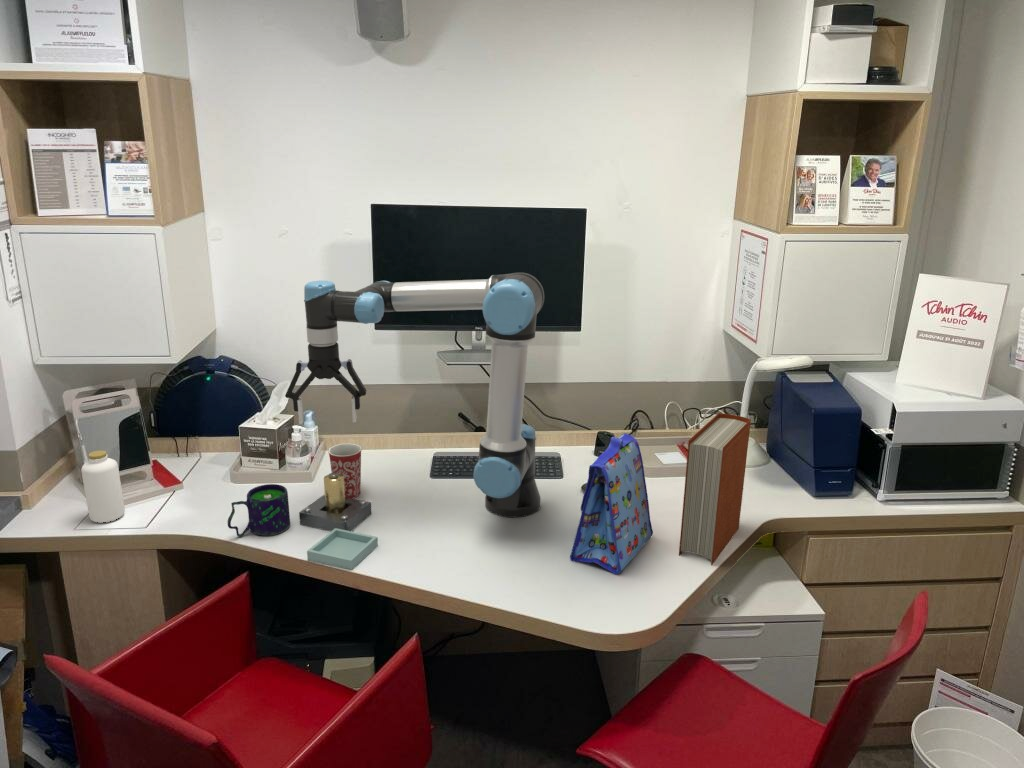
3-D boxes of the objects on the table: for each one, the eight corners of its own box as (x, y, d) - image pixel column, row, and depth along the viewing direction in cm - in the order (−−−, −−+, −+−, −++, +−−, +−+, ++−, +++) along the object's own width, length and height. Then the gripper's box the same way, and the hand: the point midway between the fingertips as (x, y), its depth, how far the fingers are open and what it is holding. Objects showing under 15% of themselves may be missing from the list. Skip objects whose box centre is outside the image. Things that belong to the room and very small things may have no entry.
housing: (371, 514, 205) (370, 500, 204) (347, 534, 194) (346, 519, 193) (326, 505, 210) (325, 491, 208) (300, 524, 199) (299, 510, 198)
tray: (377, 545, 189) (377, 536, 189) (351, 569, 179) (351, 560, 178) (335, 536, 193) (335, 528, 192) (307, 559, 182) (306, 550, 182)
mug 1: (285, 515, 204) (282, 480, 201) (294, 531, 196) (291, 495, 192) (225, 527, 197) (221, 492, 194) (231, 545, 189) (226, 508, 186)
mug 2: (359, 501, 212) (356, 456, 208) (326, 500, 213) (323, 454, 209) (370, 482, 224) (368, 439, 220) (340, 480, 225) (337, 437, 221)
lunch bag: (605, 523, 201) (610, 420, 193) (654, 537, 195) (662, 430, 186) (567, 560, 184) (572, 448, 175) (620, 576, 177) (628, 460, 168)
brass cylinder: (349, 516, 203) (347, 472, 200) (339, 525, 199) (336, 479, 195) (333, 513, 205) (330, 469, 201) (322, 521, 201) (319, 476, 197)
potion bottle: (132, 513, 204) (122, 450, 198) (104, 527, 197) (94, 462, 191) (110, 507, 207) (100, 445, 202) (82, 520, 200) (71, 456, 194)
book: (711, 565, 182) (723, 447, 173) (678, 555, 186) (688, 440, 177) (740, 526, 201) (752, 418, 192) (709, 518, 205) (719, 412, 196)
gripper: (373, 338, 200) (377, 415, 206) (274, 340, 197) (281, 418, 203) (372, 345, 193) (376, 425, 199) (269, 347, 190) (276, 428, 196)
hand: (328, 421), depth 201 cm, fingers open, 13 cm apart
